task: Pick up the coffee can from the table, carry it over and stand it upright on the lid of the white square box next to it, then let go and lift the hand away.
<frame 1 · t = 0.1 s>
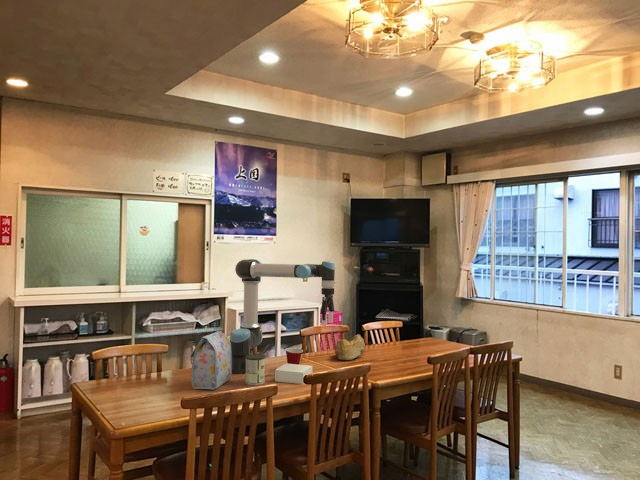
hand: (327, 324, 281), 28 cm above the table, tool pointing down, fingers open, 13 cm apart
white square box: (293, 378, 266), on the table
coffee can: (254, 382, 257), on the table
plastic cup: (293, 370, 286), on the table
rough brown rock: (347, 358, 320), on the table
lunch bag: (210, 384, 252), on the table
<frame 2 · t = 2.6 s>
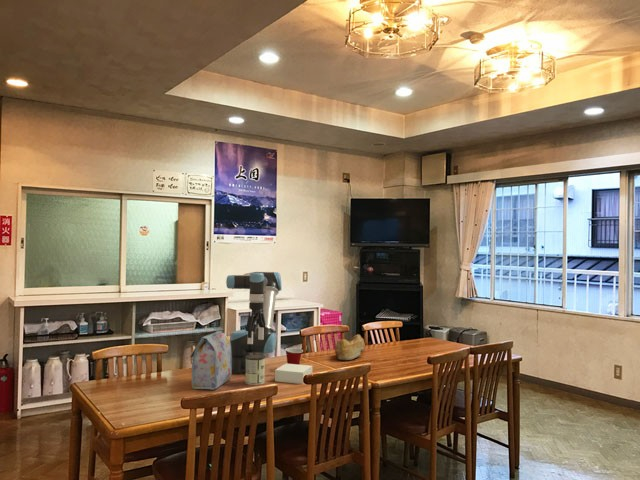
hand: (255, 341, 257), 22 cm above the table, tool pointing down, fingers open, 13 cm apart
nothing on the table moved.
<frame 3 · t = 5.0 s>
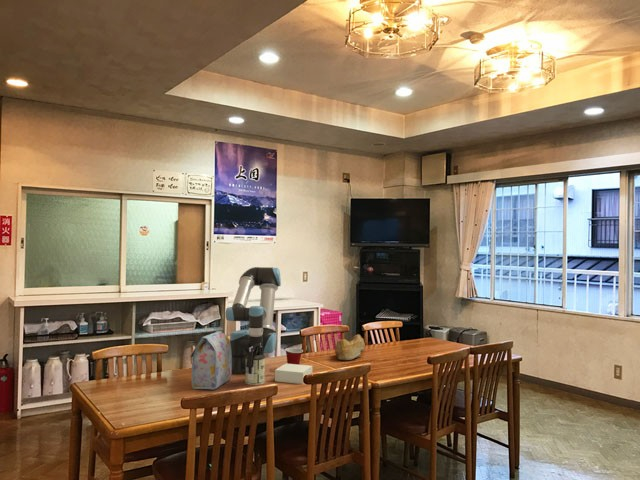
hand: (254, 377, 257), 3 cm above the table, tool pointing down, fingers closed on coffee can, 10 cm apart
coffee can: (254, 382, 257), on the table, touching gripper
everything else where it was.
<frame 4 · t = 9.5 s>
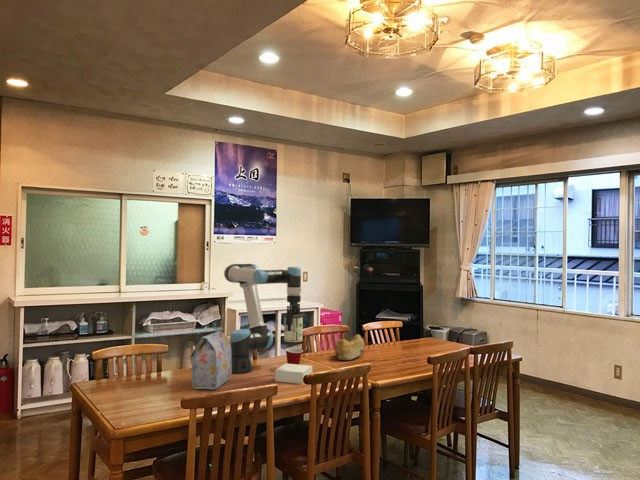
hand: (293, 335, 266), 24 cm above the table, tool pointing down, fingers closed on coffee can, 10 cm apart
coffee can: (293, 340, 265), point 21 cm above the table, touching gripper
everything else where it was.
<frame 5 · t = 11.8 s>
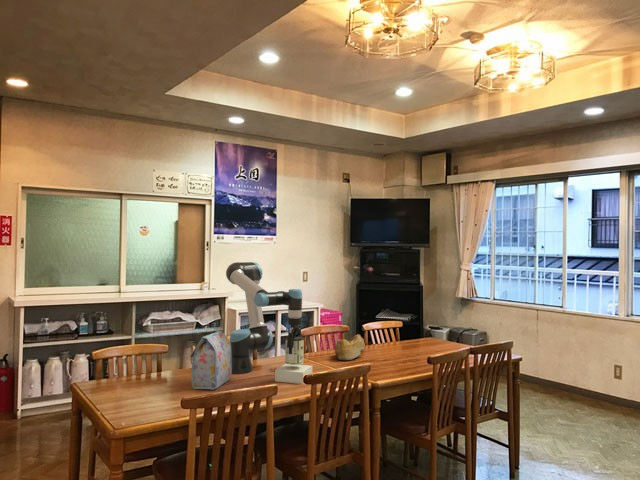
hand: (294, 357, 266), 12 cm above the table, tool pointing down, fingers closed on coffee can, 10 cm apart
coffee can: (294, 363, 266), point 9 cm above the table, touching gripper
everything else where it was.
when the fingers open (9 cm above the table, at t = 13.8 s): coffee can stays where it is, resting on white square box.
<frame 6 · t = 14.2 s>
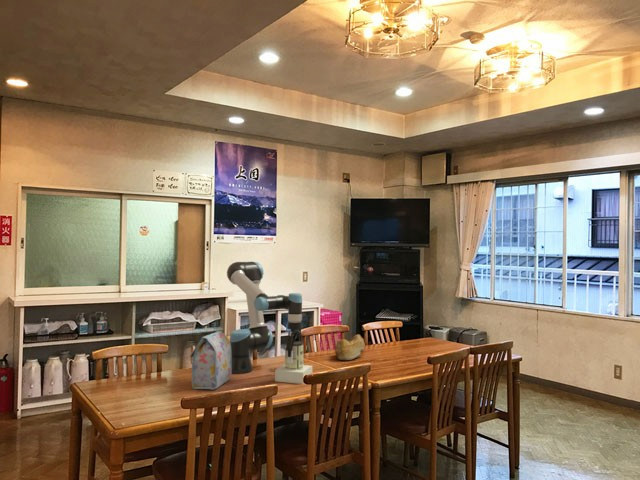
hand: (294, 360, 266), 10 cm above the table, tool pointing down, fingers open, 13 cm apart
coffee can: (294, 368, 266), point 6 cm above the table, touching white square box
everything else where it was.
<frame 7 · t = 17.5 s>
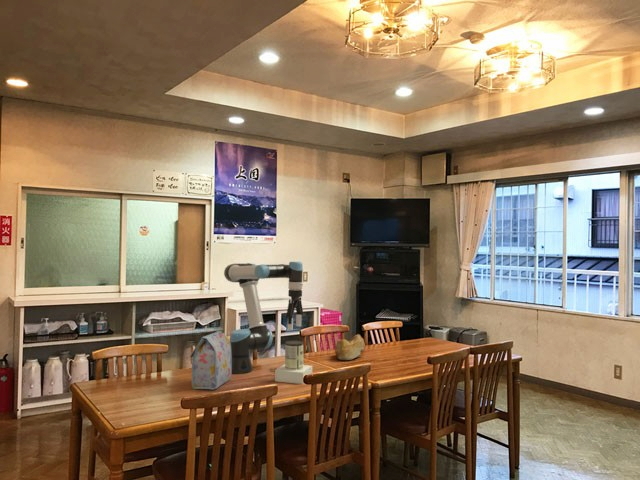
hand: (294, 328, 266), 28 cm above the table, tool pointing down, fingers open, 13 cm apart
nothing on the table moved.
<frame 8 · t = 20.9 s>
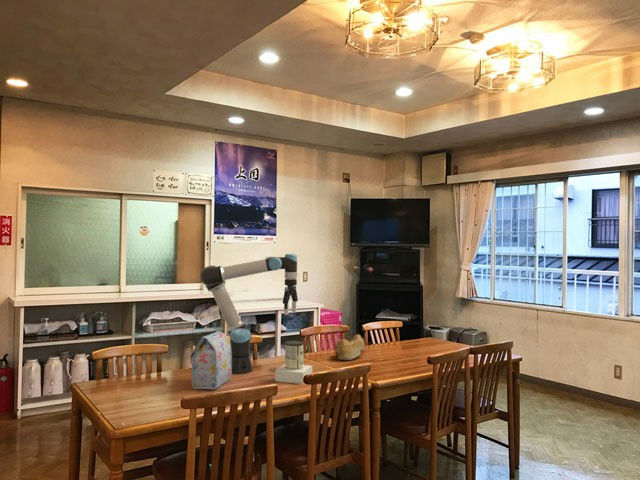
hand: (290, 313, 299), 32 cm above the table, tool pointing down, fingers open, 13 cm apart
nothing on the table moved.
at the end: coffee can inside the target area on the white square box (0.1 cm from its centre), point 5.8 cm above the white square box's base; coffee can tilted 0°; coffee can touching white square box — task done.
